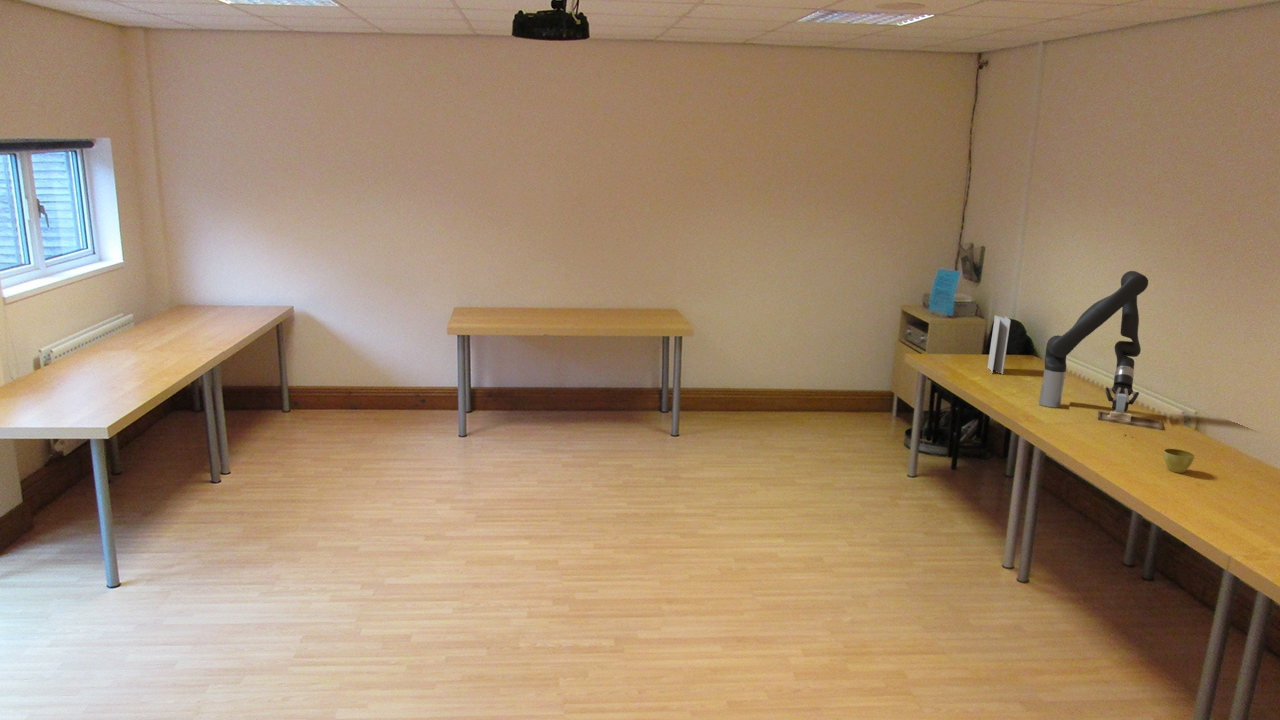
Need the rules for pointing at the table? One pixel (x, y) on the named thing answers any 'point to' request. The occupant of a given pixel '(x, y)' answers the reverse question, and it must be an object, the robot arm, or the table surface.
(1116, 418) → the offcut stack
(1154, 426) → the brown serving tray
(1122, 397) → the blue-grey rectangular block
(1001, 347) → the brochure
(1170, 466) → the green bowl
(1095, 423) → the table surface
